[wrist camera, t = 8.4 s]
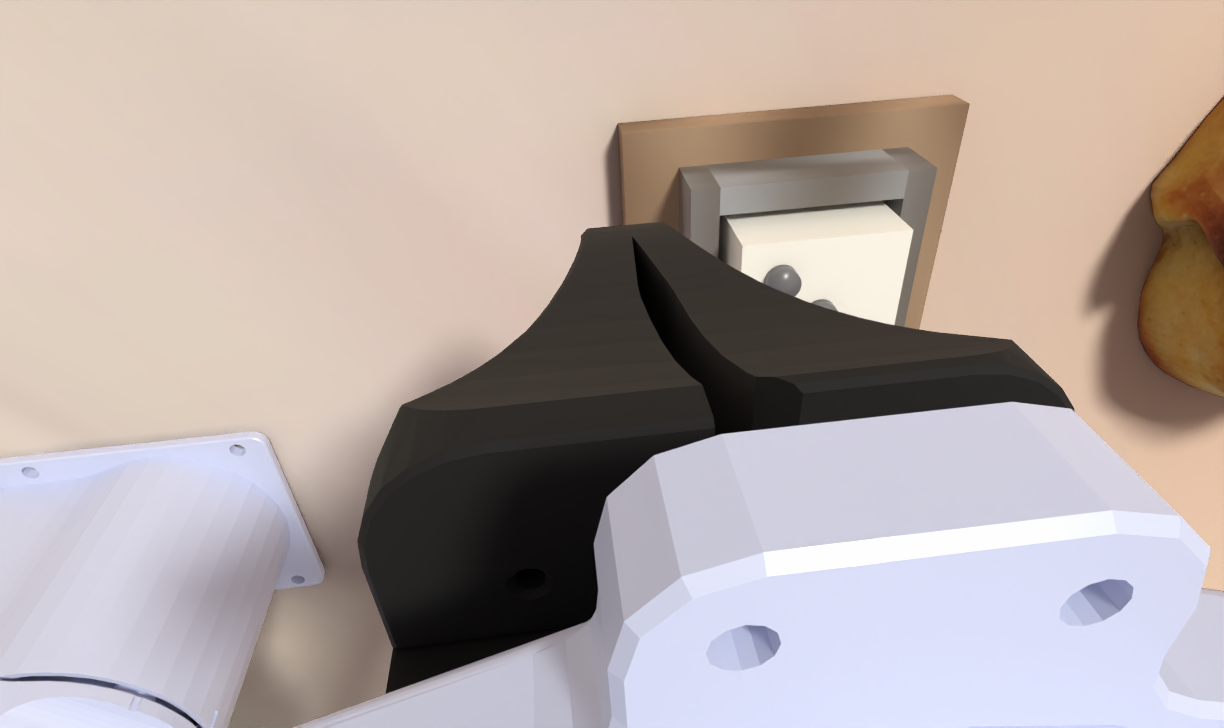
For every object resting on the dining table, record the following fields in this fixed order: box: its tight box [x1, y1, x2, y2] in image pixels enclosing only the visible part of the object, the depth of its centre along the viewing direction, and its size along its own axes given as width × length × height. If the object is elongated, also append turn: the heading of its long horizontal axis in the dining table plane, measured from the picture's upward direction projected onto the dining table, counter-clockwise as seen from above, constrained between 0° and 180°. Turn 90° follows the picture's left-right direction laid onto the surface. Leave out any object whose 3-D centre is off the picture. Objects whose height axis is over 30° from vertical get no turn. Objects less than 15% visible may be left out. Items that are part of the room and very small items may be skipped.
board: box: [618, 95, 969, 329], centre depth 26 cm, size 10×21×3 cm, turn 3°
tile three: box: [718, 201, 913, 325], centre depth 21 cm, size 5×5×3 cm
